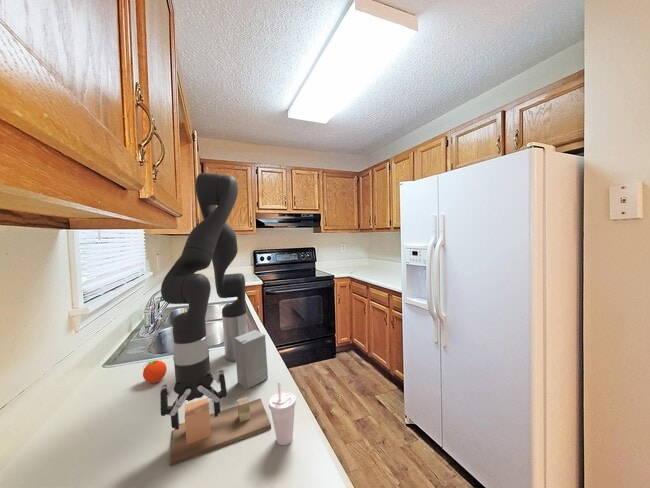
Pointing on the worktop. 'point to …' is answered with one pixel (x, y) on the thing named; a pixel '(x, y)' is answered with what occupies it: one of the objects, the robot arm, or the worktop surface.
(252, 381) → the skincare box
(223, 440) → the post board
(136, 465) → the worktop surface
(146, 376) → the tomato
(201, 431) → the light orange block
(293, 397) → the smoothie
